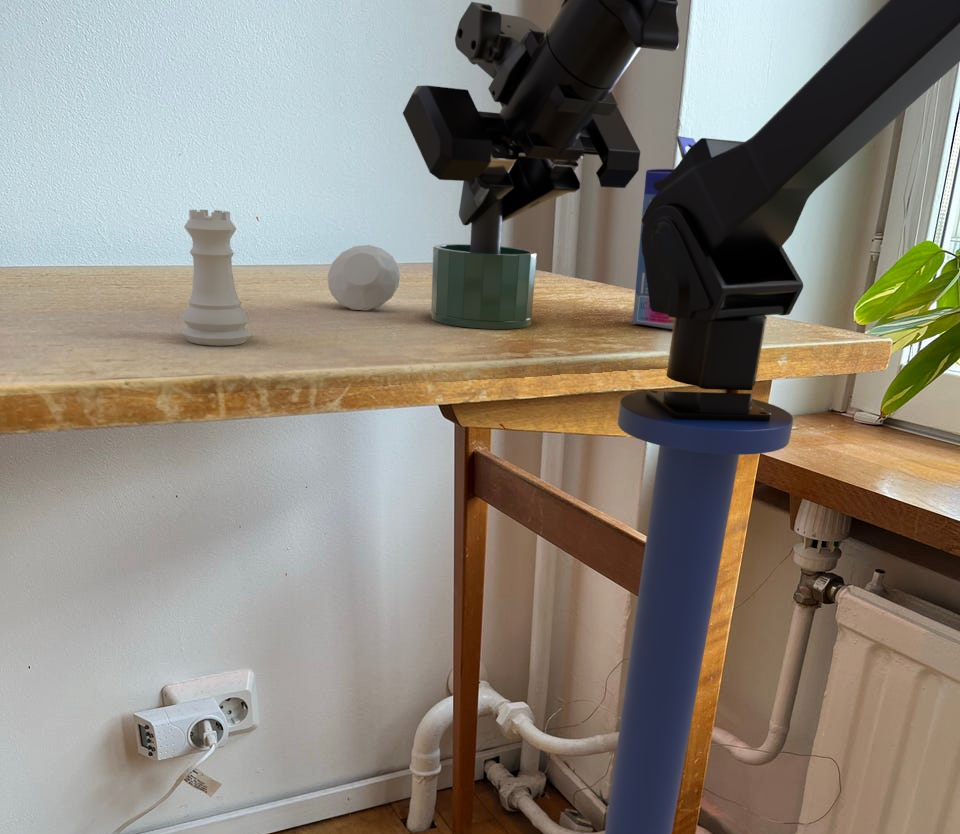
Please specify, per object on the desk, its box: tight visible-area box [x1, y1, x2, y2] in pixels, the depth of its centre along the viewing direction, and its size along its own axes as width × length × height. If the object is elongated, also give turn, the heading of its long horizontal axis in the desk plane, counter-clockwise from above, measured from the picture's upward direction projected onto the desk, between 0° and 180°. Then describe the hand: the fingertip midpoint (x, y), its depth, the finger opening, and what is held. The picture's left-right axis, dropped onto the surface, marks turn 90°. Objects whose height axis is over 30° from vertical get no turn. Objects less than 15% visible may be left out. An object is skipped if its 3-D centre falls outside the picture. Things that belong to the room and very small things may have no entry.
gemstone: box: [327, 244, 401, 312], centre depth 84 cm, size 6×6×5 cm
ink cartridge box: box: [632, 135, 697, 330], centre depth 83 cm, size 10×6×14 cm, turn 148°
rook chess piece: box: [181, 209, 251, 347], centre depth 64 cm, size 4×4×8 cm
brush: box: [469, 197, 503, 254], centre depth 77 cm, size 4×4×13 cm
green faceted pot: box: [430, 243, 538, 330], centre depth 79 cm, size 8×8×6 cm
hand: (476, 220), depth 78 cm, fingers closed on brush, 2 cm apart
